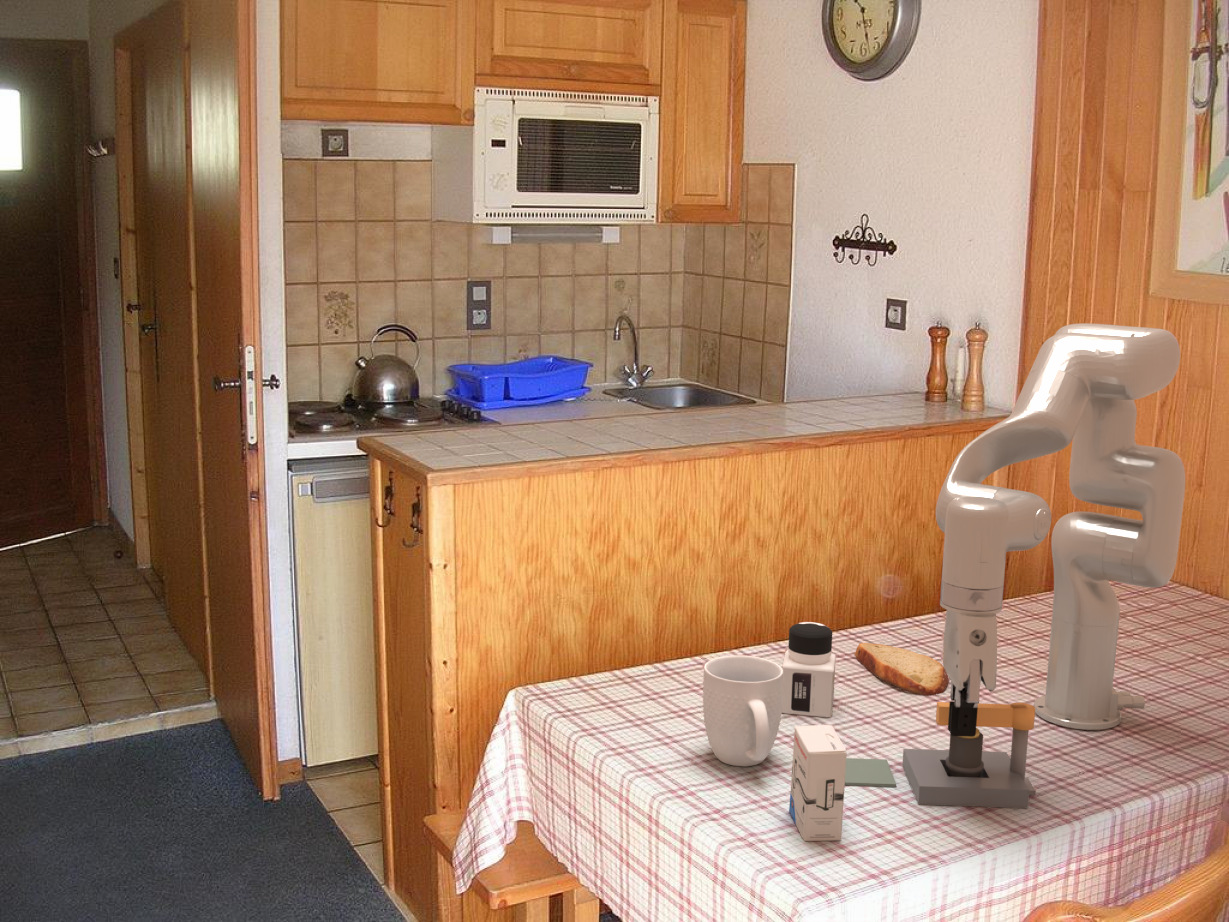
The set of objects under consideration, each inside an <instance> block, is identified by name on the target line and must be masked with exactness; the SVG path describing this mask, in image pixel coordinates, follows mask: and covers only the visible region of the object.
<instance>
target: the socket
mask: <svg viewBox="0 0 1229 922" xmlns="http://www.w3.org/2000/svg"><path fill="white" fill-rule="evenodd" d="M1029 731H1030V730H1018V729H1014V728H1012V734H1011V746H1010V747H1011V748H1010V749H1011V750H1010V756H1009V754H1008V752H1007V751H987V750H986V751H984V750H982V761H983V763H984V769H983V771H981V773H980V778H977V777H948V767H947V766H946V758H947V757H948V756H949V749H928V748H927V749H924V748H922V749H921V748H920V749H919V748H903V752H902V768H903V771H904V773H905V774H906V775H905V776H906V778H907V780H908V783H909V785H910V787H911V790H912V792H913V795H914V797H915V800H916V802H917V805H927V806H928V805H931V806H932V805H934V806H957V807H958V806H960V807H987V808H989V807H990V808H1014V809H1029V802H1030V796H1036V793H1037V792H1036V791H1037V790H1036V789H1035V788H1034V786H1033V784H1032V783H1031V781H1030V779H1029V778H1028V777H1026V768H1027V756H1028V745H1029V744H1028V743H1029Z"/></svg>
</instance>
